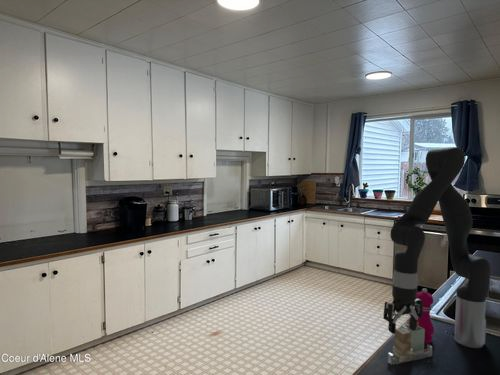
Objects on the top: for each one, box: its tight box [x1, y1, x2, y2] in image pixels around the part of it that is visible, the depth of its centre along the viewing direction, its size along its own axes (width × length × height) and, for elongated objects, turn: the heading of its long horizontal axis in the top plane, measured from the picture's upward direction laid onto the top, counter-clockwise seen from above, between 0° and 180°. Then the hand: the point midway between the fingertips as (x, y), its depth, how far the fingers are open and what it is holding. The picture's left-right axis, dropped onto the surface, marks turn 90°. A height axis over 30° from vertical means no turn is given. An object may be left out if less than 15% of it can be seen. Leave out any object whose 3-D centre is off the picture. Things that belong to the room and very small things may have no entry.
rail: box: [387, 343, 433, 366], centre depth 117 cm, size 18×2×4 cm, turn 109°
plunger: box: [406, 318, 419, 331], centre depth 123 cm, size 4×4×6 cm
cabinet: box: [400, 323, 425, 352], centre depth 124 cm, size 6×5×8 cm
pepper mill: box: [417, 287, 435, 345], centre depth 130 cm, size 7×7×20 cm
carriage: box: [392, 327, 413, 362], centre depth 115 cm, size 5×4×10 cm
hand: (402, 331), depth 115 cm, fingers open, 8 cm apart
